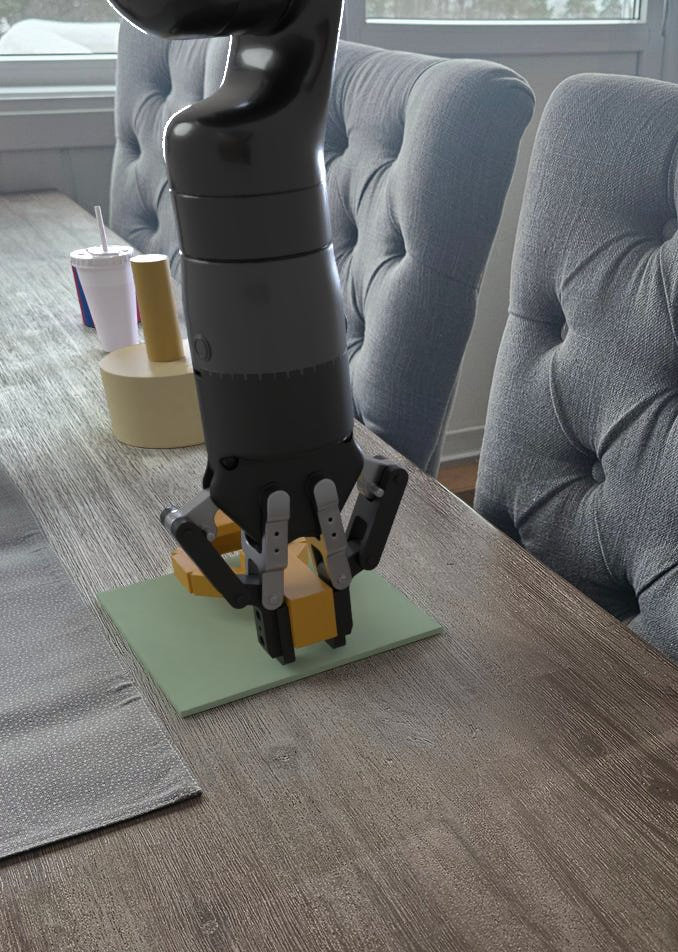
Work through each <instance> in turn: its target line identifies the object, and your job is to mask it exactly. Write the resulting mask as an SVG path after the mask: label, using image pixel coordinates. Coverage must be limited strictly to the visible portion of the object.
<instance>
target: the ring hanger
mask: <svg viewBox="0 0 678 952" xmlns="http://www.w3.org/2000/svg"><path fill="white" fill-rule="evenodd" d="M214 522H215V524H216V526H217V530H218V533H217V536H216V539H215V540H214V541H212V542H210V543H211V544H212V545H213V546H214V548H215V549H216V550H217V552H218V553H219V554H220V555H221V556H222V555H226V554H230V553H234V552H238V553H239V554H238V555H240V561H241V568H233V567H230V568H231V569H232V570H233V572H234V573H235V574H245V555H244V552H243V550H242V545H241V528H240V527H239V526H238V525H237V524H235V523H234V522H233V521H232V520H231V519H230V518H229V517H228V516H227V515H225V514H224V513H223V512H222V511H221V510H220V509H219V510H218V511H217V512H216V514H215V517H214ZM170 559H171V565H172V570H173V571H172V572H173V573H174V576H175V577H176V578H177V579H178V580H179V581H180V582H181V584H182V585H183V586H184V587H185V588H186V589H187V590H188V592H189V593H190V594H192V593H194V595H197V596H208V597H218V598H224V597H223V596H222V595H221V594H220V593H219V592H218V591H217V590H216V589H215V588H214V587H213V585H212V584H211V583H210V582H209V581H208V579H207V578H206V577H205V576H204V575H203V573H202V572H201V571H200V570H199V569H198V567H197V566H196V565H195V564H194V562H193V561H192V560H191V559H190V558H189V556H188V555H187V554H186V553H185V552H184V550H183V549H182V548H181V547H180V545H178V546H177V547H176V548H175V549H174V550H173V551H172V552H171V555H170ZM308 564H309V554H308V546H307V541H306V540H305V539H304V537H300V538H298V539H296V540H294V541H292V542H291V543H289V544H288V566H287V568H286V569H284V600H283V602H284V603H285V604H286V605H287V606H288V609H289V617H290V624H291V632H292V639H293V645H294V647H295V648H296V649H298V648H302V647H305V646H308V645H311V644H314V643H317V642H321V641H324V640H327V639H330V638H333V637H336V636H337V628H336V619H335V609H334V600H333V591H332V588H330V587H329V586H328V585H327V584H326V583H325V582H324V581H323V580H322V579H320V578H319V577H318V576H317V575H316V574H315V573H314V572H313V571H311V570H310V569H309V568H308V567H307V565H308Z"/></svg>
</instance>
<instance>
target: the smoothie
mask: <svg viewBox="0 0 678 952" xmlns="http://www.w3.org/2000/svg"><path fill="white" fill-rule="evenodd" d="M93 208H94V214H95V218H96V223H97V229H98V234H99V238H100V239H99V240H100V243H101V245H98V246H90V247H85V248H81V249H77V250H74V251H73V252H71V253H70V255H69V256H70V261H72V263H71V262H70V266H71V265H72V266H74V267H76V270H77V273H78V276H79V279H80V283H81V285H82V288H83V291H84V294H85V297H86V300H87V303H88V306H89V309H90V312H91V315H92V318H93V321H94V324H95V327H94V328H95V330H96V333H97V336H98V339H99V342H100V345H101V348H102V351H104V352H106V353H111V352H114V351H116V350H118V349H121V348H124V347H128V346H131V345H135V344H140V343H139V328H138V327H139V326H138V322H137V310H136V294H135V284H134V279H133V274H132V268H131V263H130V259H131V258H133V257H136V253H135V249H134V248H133V247H131V246H127V245H113V244H112V245H111V244H110V245H108V242H107V235H106V230H105V225H104V220H103V214H102V210H101V206H100V205H95V206H93ZM72 266H71V267H72Z"/></svg>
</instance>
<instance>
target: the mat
mask: <svg viewBox="0 0 678 952" xmlns="http://www.w3.org/2000/svg"><path fill="white" fill-rule="evenodd" d="M303 538H304V537H303ZM304 539H305V538H304ZM305 540H306V539H305ZM307 546H308V544H307ZM308 554H309V564H308V565H307V567H308V568H309V569H310V570H311V571H313V572H314V573H315V574H316V575H317V576H318V572H316V571H315V569H314V566H313V563H312V559H311V555H310V551H309V547H308ZM223 559H224V560H225V562H226V563H227V564H228V565H229V567H233V568H241V561H240V555H239V554H238V555H234V556H231V557H226V558H223ZM349 589H350V599H351V611H352V619H353V627H352V631H351V634H349V635H346V645H345V646H342V647H339V648H336V649H333V648H331V647H330V646H329V645H328V644H327V643H326V642H325V641H321V642H317V643H314V644H311V645H308V646H305V647H302V648H298V649H296V648H295V647H294V650H295V658H296V660H295V662H293V663H290V664H286V665H281V664H280V662H279V661H278V660H277V659H276V658H274V659H272V658H271V657H270V656H269V654H268V653H267V652H266V651H265V650H264V649H263V648H262V646H261V645H260V643H259V642H258V637H257V631H256V624H255V618H254V611H253V606H252V605H247V606H246V607H244V608H242V609H235V608H233V607H232V606H231V605H230V604H229V603H228V602H227V601H226V600H225V598H218V597H208V596H197V595H194V593H192V594H190V593H189V592H188V590H187V589H186V588H185V587H184V586H183V585H182V584H181V582H180V581H179V580H178V579H177V578H176V577H175V576H174V572H171V573H167V574H164V575H160V576H156V577H152V578H149V579H145V580H141V581H137V582H134V583H130V584H127V585H124V586H123V585H122V586H119V587H116V588H112V589H108V590H105V591H100V592H96V593H95V596H96V599H97V601H98V603H99V604H100V605H101V606H102V608H103V610H104V611H105V612H106V614H107V615H108V616H109V618H110V619H111V620H112V622H113V624H114V625H115V627H116V628H117V629H118V631H119V632H120V633H121V635H122V636H123V637H124V639H125V640H126V642H127V644H128V645H129V646H130V647H131V649H132V651H133V652H134V653H135V655H136V656H137V657H138V659H139V660H140V661H141V663H142V664H143V665H144V667H145V669H146V670H147V671H148V673H149V674H150V676H151V677H152V679H153V680H154V681H155V683H156V684H157V685H158V687H159V688H160V689H161V691H162V693H163V694H164V695H165V697H166V698H167V699H168V701H169V703H170V704H171V705H172V707H173V708H174V709H175V711H176V712H177V713H178V714H179V716H180V718H181V719H183V718H186V717H189V716H193V715H195V714H198V713H201V712H205V711H207V710H211V709H214V708H216V707H220V706H223V705H225V704H229V703H231V702H235V701H238V700H241V699H244V698H247V697H250V696H253V695H257V694H259V693H263V692H265V691H268V690H272V689H274V688H277V687H280V686H283V685H287V684H289V683H292V682H295V681H299V680H301V679H305V678H308V677H311V676H315V675H317V674H320V673H323V672H326V671H329V670H333V669H336V668H339V667H342V666H345V665H347V664H350V663H351V664H352V663H353V662H357V661H360V660H362V659H365V658H368V657H372V656H375V655H377V654H381V653H383V652H386V651H390V650H393V649H396V648H399V647H402V646H405V645H408V644H412V643H414V642H417V641H420V640H423V639H428V638H429V637H432V636H436V635H438V634H442V633H443V626H442V625H440V624H439V623H438V622H437V621H436V620H434V619H433V618H432V617H431V616H430V615H428V614H427V613H426V612H424V611H423V610H422V609H421V608H420V607H418V606H417V605H416V604H415V603H414V602H412V601H411V600H410V599H409V598H407V597H406V596H405V595H404V594H403V593H401V592H400V591H399V590H398V589H396V588H395V587H394V586H393V585H391V583H389V582H388V581H387V580H386V579H385V578H383V577H382V576H380V574H378V573H377V572H376V571H375V570H374V569H373V570H369V571H367V570H363V571H361V572H360V573H358V574H357V575H355V576H354V577H353V579H352V581H351V583H350V586H349Z"/></svg>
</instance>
